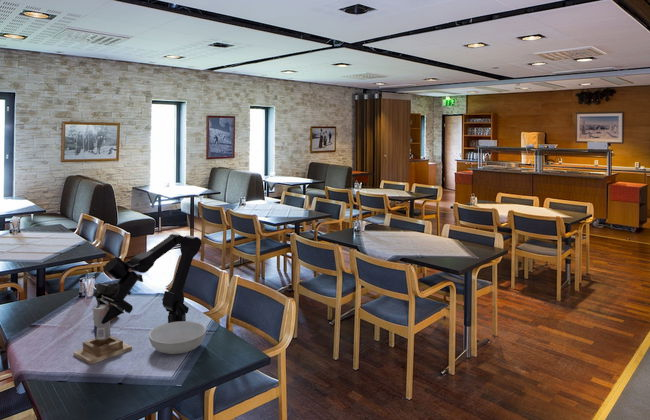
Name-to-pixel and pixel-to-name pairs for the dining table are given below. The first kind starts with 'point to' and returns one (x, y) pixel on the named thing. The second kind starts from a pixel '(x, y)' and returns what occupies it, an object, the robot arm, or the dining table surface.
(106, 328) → the energy drink
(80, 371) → the dining table surface
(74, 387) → the dining table surface
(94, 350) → the wooden tray
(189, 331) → the serving bowl
